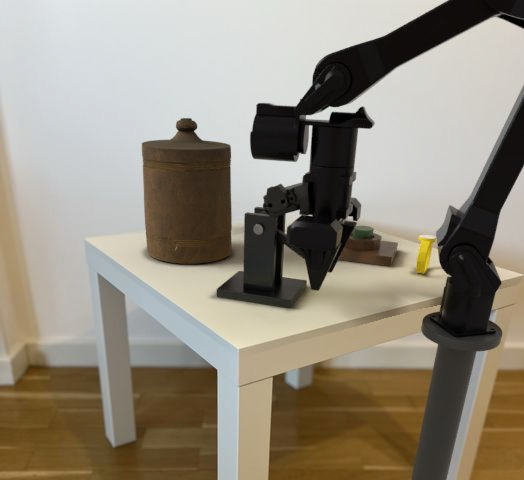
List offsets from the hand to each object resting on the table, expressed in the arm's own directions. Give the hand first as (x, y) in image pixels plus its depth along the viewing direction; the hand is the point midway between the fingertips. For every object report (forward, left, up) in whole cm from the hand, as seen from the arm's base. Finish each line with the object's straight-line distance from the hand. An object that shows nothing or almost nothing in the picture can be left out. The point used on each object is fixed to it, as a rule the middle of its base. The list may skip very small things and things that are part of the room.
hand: (322, 280), depth 77 cm
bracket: (+5, +7, -3) cm, 9 cm away
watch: (+9, -22, -3) cm, 24 cm away
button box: (+20, -16, -3) cm, 26 cm away
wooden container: (+27, +14, -3) cm, 31 cm away
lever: (+3, +4, +4) cm, 6 cm away
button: (+20, -16, 0) cm, 26 cm away
